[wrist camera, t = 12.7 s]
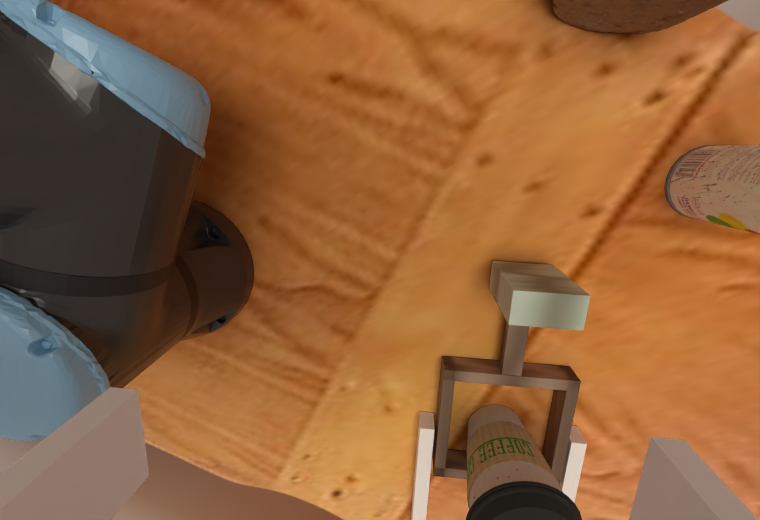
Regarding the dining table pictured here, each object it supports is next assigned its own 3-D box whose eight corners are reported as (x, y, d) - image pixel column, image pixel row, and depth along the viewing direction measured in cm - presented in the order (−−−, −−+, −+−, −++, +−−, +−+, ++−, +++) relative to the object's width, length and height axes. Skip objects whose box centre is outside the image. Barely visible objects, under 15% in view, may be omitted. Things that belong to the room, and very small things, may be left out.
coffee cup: (471, 378, 46) (497, 483, 32) (552, 407, 46) (614, 525, 32) (439, 445, 49) (450, 570, 34) (515, 472, 49) (558, 608, 34)
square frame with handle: (432, 456, 49) (436, 531, 39) (451, 255, 42) (463, 286, 33) (550, 468, 48) (584, 547, 38) (589, 264, 41) (642, 299, 32)
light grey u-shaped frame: (408, 542, 53) (408, 565, 50) (419, 411, 48) (419, 428, 45) (548, 558, 52) (556, 582, 49) (576, 425, 46) (586, 444, 43)
